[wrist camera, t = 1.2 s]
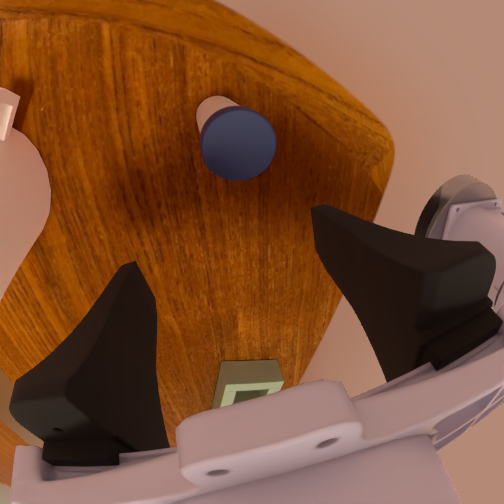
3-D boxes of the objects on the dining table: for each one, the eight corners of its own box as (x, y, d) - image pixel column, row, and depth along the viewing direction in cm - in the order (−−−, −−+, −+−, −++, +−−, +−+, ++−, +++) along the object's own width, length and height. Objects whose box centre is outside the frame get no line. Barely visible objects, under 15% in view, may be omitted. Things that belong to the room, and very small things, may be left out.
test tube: (238, 91, 18) (275, 105, 11) (241, 134, 19) (278, 176, 12) (191, 96, 17) (196, 114, 10) (196, 140, 19) (205, 187, 12)
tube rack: (221, 361, 31) (225, 384, 28) (276, 359, 32) (284, 381, 30) (207, 426, 39) (210, 444, 36) (249, 423, 40) (253, 441, 38)
